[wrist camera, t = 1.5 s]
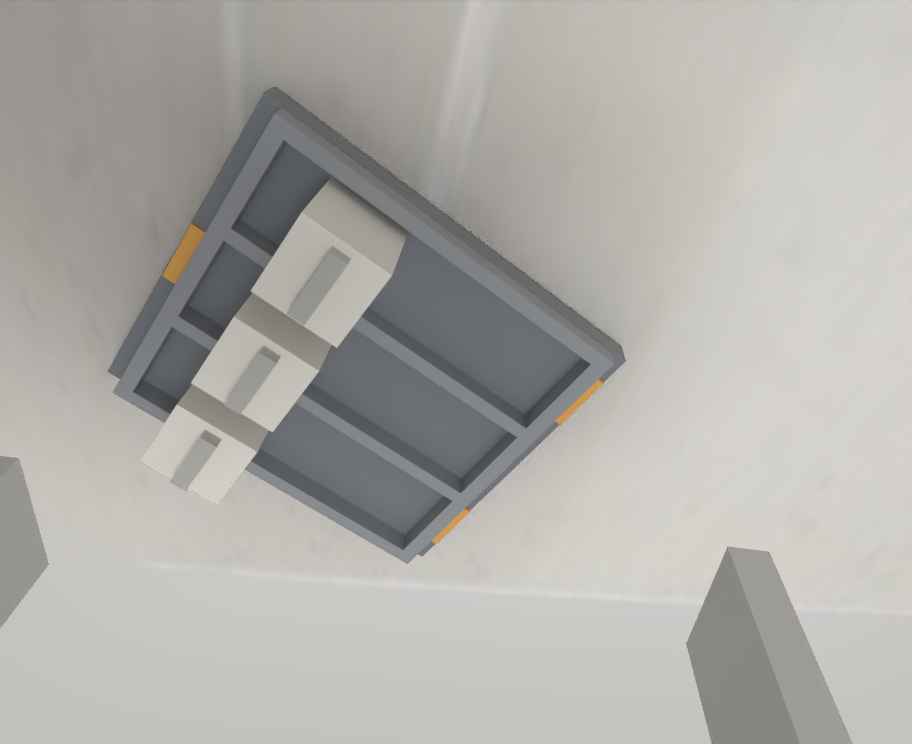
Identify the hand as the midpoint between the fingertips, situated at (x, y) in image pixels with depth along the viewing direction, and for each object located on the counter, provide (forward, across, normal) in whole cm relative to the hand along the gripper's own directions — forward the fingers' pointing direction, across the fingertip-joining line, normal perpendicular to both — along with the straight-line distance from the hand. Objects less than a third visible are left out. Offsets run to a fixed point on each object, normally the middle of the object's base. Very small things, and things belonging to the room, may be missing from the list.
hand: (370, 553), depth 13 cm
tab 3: (+20, -10, -11) cm, 25 cm away
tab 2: (+20, -7, -6) cm, 22 cm away
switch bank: (+22, -4, -8) cm, 23 cm away
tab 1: (+20, -4, -2) cm, 20 cm away
